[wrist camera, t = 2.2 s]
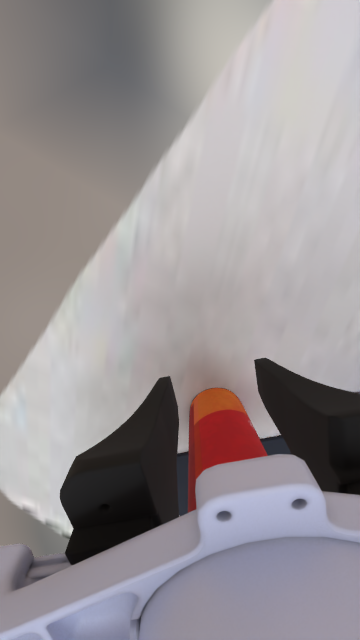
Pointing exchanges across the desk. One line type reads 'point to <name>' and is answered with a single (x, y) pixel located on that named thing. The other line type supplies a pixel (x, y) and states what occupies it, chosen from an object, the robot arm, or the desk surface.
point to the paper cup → (218, 435)
